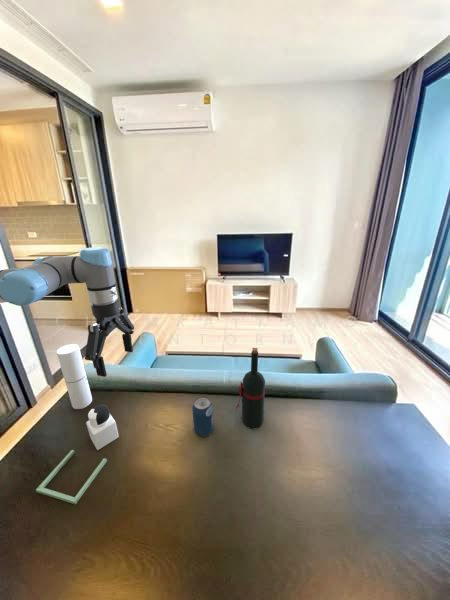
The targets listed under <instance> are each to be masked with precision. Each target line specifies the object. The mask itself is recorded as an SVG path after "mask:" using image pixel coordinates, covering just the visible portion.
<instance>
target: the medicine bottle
mask: <svg viewBox="0 0 450 600" xmlns="http://www.w3.org/2000/svg"><path fill="white" fill-rule="evenodd" d="M87 417H88V420H87V421H86V422H85V424H86V427H87V431H88V435H89V439H90V440H91V442H92V443H93V445H94V447H95V450H97V451H99V450H101V449H102V448H104V447H106V446H107V445H109V444H110V443H112V442H114V441H115V440H117V439H119V437H120V436H119V430H118V426H117V422H116V420H115V419H114V417H113V416H112V414H111V413H110V410H109V406H108V405H105V404H99V405H95V406H94V407H92V408H91V409H90V410H89V412H88V414H87Z"/></svg>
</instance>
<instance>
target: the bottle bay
mask: <svg viewBox="0 0 450 600" xmlns="http://www.w3.org/2000/svg"><path fill="white" fill-rule="evenodd" d="M75 453H76V451H75V450H74V449H71V450H70V451H69V452H68V453H67V455H65V456H64V458H63V459H61V461H60V462H59V464H57V466H56V467H55V468H54V469H53V470H52V471H51V472H50V473H49V475H47V477H46V478H45V479H44V480H43V481H42V482H41V483H40V484H39V485H38V487H37V488H36V489H35V492H36V493H38V494H41V495H45V496H48V497H51V498H54V499H57V500H60V501H63V502H66V503H70V504H73V505H77V504H78V502H79V500H80V499H81V498H82V497H83V495H84V494H85V492H86V491H87V489H89V487H90V485H91V484H92V482H94V481H95V478H96V477H97V476H98V474H99V473H100V472H101V470H102V469H103V467H104V466H105V465H106V463H107V462H108V459H107V458H105V457H103V458H102V460H101V461H100V463H99V464H98V465H97V467H96V468H95V469H94V470H93V472H92V474H91V475H90V476H89V477H88V478H87V480H86V481H85V483H84V484H83V485H82V487H81V488H80V489H79V491H78V492H77V494H76V495H75V496H72V495H68V494H65V493H63V492H59V491H55V490H53V489H50V488H46V486H47V485H48V484H49V483H50V482H51V481H52V479H53V478H54V477H55V476H56V475H57V474H58V473H59V471H60V470H61V469H62V468H63V467H65V465H66V464H67V462H68V461H69V460H70V459H71V458H72V457H73V455H75Z"/></svg>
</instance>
